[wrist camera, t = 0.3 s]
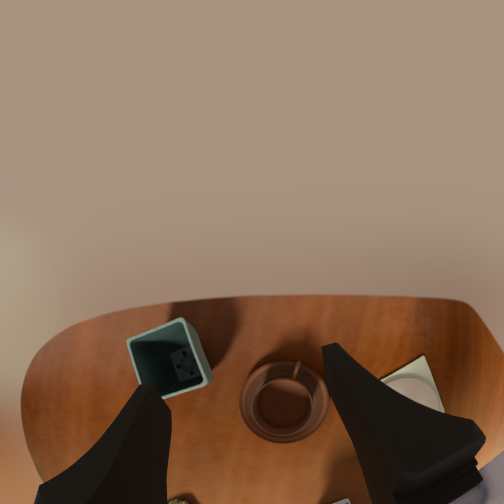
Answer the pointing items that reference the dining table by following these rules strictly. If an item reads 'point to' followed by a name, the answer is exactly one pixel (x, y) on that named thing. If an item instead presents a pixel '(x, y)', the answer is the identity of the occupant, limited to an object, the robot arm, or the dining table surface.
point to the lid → (415, 391)
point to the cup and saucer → (284, 401)
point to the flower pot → (170, 358)
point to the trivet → (416, 376)
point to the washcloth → (178, 502)
